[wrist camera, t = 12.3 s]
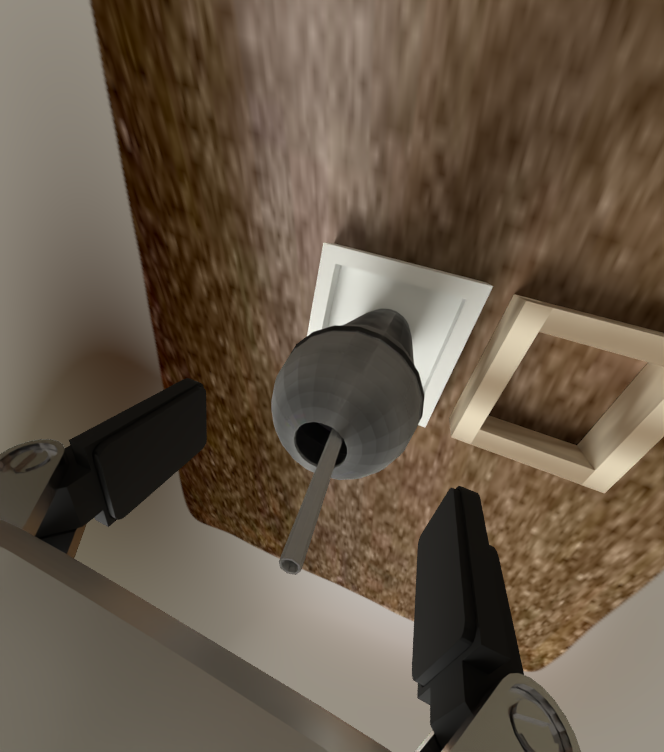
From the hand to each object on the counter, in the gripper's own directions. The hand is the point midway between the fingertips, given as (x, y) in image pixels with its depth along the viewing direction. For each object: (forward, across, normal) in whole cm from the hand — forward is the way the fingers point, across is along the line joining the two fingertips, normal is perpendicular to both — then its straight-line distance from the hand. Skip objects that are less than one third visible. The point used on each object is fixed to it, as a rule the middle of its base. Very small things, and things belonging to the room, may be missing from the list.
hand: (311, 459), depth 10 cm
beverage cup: (+16, 0, 0) cm, 16 cm away
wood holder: (+17, -14, 0) cm, 22 cm away
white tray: (+17, 0, 0) cm, 17 cm away
